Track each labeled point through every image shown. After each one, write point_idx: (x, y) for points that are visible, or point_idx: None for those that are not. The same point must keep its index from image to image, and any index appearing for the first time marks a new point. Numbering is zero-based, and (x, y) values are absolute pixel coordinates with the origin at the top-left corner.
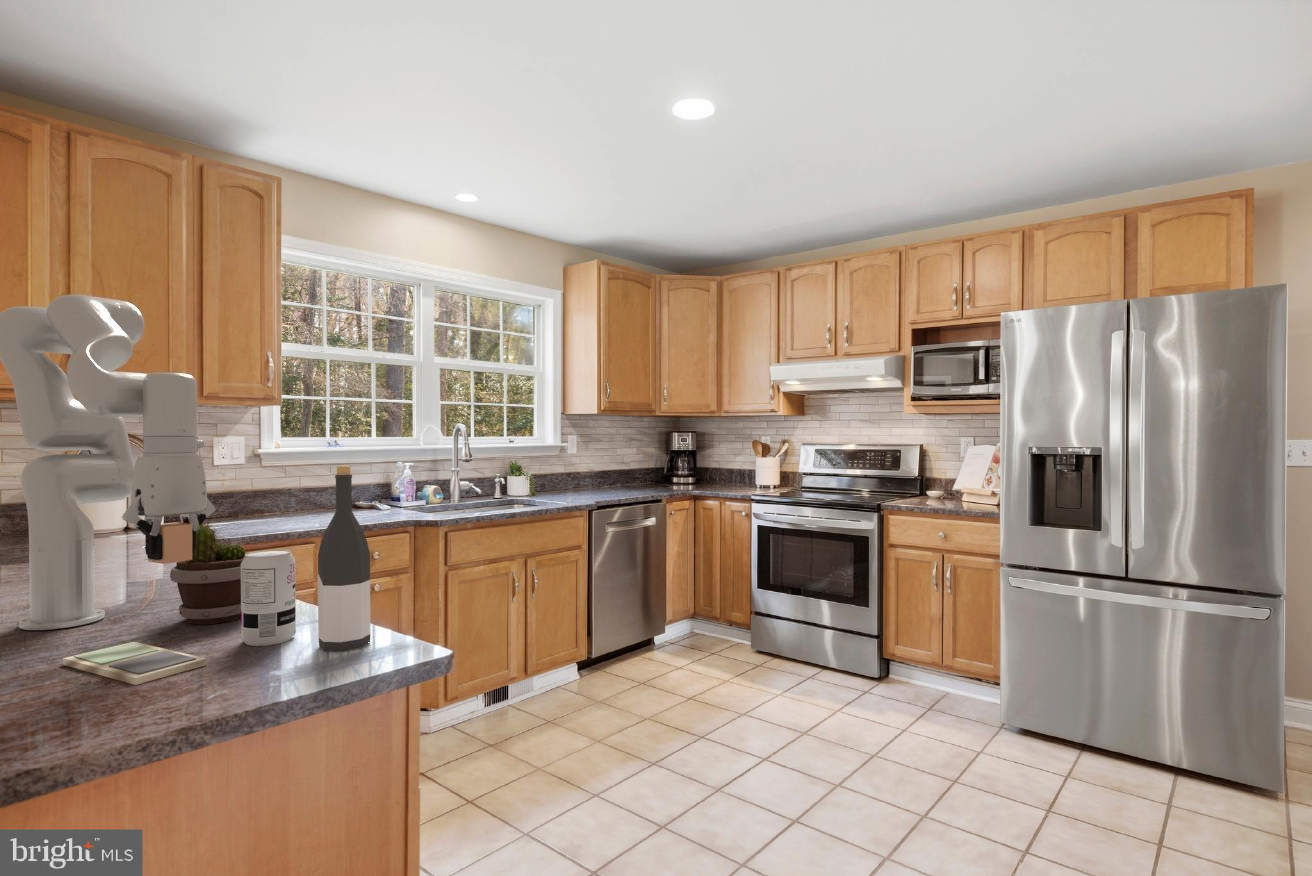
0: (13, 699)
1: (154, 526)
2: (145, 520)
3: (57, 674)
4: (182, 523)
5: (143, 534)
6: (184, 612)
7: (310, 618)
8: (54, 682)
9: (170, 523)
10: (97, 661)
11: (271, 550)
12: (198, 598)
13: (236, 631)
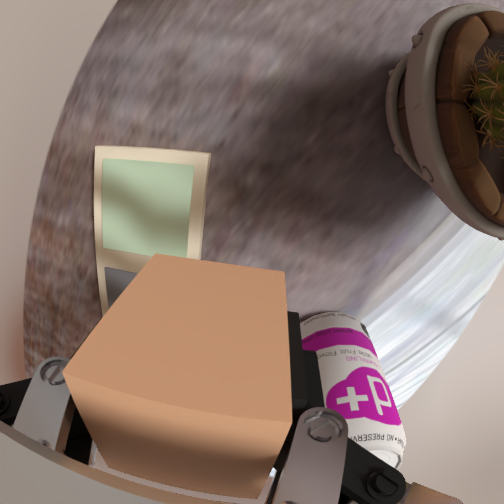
0: (29, 247)
1: (68, 450)
2: (22, 427)
3: (77, 192)
4: (255, 471)
5: (56, 357)
6: (387, 92)
7: (456, 297)
8: (63, 228)
9: (216, 431)
10: (104, 231)
11: (398, 454)
12: (407, 133)
13: (368, 245)
